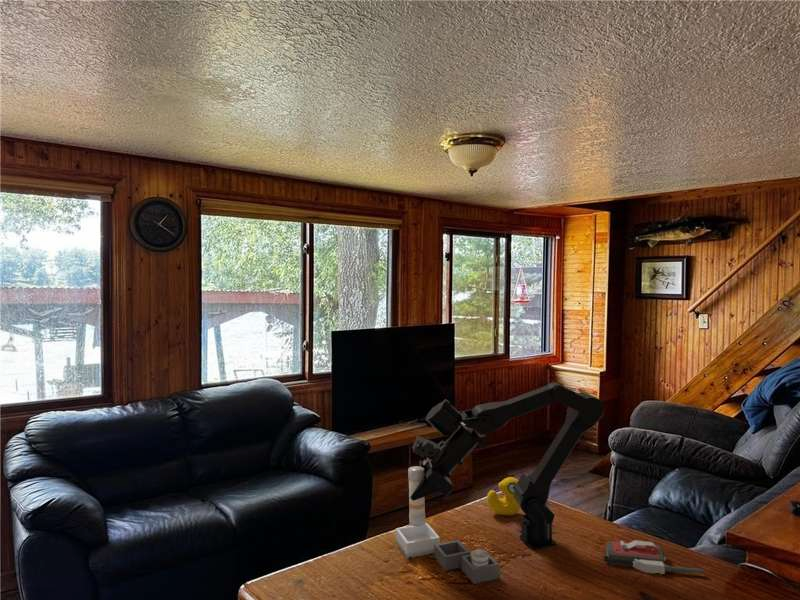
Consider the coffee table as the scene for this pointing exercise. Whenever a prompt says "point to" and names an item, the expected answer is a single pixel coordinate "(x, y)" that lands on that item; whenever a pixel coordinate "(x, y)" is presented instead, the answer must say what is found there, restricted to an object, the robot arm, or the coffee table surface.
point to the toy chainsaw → (641, 557)
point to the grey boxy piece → (480, 570)
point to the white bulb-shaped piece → (417, 505)
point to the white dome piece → (479, 558)
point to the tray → (416, 540)
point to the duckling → (508, 502)
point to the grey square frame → (450, 554)
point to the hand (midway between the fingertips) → (410, 495)
